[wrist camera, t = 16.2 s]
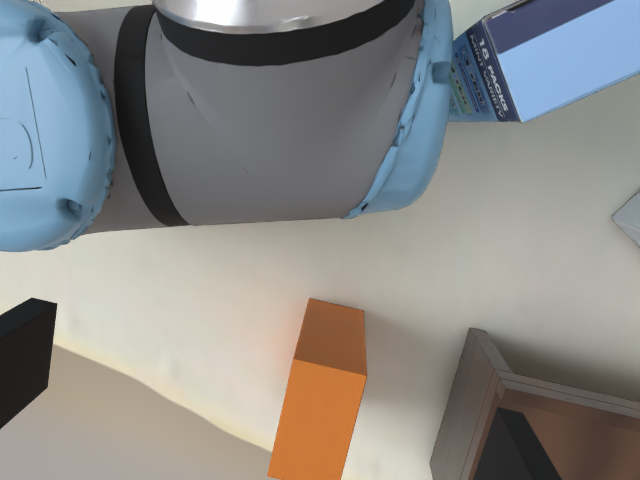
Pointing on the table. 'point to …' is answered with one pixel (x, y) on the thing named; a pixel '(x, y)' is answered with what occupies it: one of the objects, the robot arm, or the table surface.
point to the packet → (321, 395)
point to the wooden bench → (534, 420)
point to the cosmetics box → (630, 218)
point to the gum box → (542, 57)
